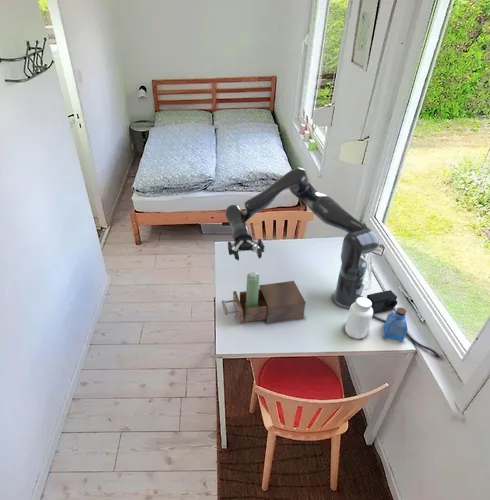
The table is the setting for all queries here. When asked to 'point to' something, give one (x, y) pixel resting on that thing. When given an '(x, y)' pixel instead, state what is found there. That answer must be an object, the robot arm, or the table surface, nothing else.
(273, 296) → the cabinet
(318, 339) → the table surface
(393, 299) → the digital camera
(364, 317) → the pill bottle
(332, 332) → the table surface
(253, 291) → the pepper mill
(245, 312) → the drawer
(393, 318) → the perfume bottle
